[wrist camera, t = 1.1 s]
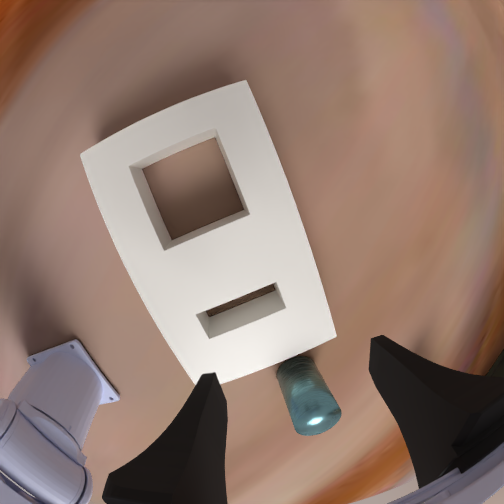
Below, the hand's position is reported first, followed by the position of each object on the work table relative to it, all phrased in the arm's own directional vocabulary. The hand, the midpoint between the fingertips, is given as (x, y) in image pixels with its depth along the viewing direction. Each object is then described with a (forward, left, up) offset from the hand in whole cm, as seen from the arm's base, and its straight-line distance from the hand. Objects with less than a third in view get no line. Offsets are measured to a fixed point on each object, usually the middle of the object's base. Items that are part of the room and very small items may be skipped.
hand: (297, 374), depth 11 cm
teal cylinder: (0, -10, -11) cm, 15 cm away
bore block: (-2, +5, -11) cm, 12 cm away
